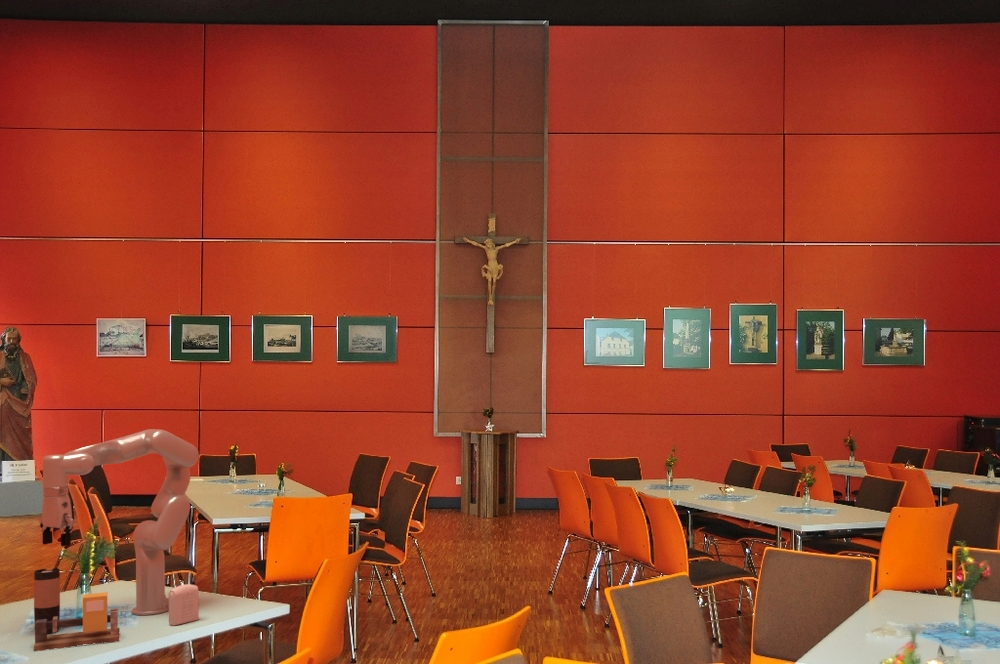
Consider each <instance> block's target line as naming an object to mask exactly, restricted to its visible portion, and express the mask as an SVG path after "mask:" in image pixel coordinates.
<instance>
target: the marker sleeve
mask: <svg viewBox="0 0 1000 664" xmlns="http://www.w3.org/2000/svg"><path fill="white" fill-rule="evenodd" d="M107 615H108V592H107V591H106V592H96V593H86V594H85V593H84V594H83V596H82V618H83V626H82V632H83V633H84V632H93V631H103V630H107V629H108V627H109V625H108V624H109V623H107Z"/></svg>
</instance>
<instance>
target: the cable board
mask: <svg viewBox="0 0 1000 664" xmlns="http://www.w3.org/2000/svg"><path fill="white" fill-rule="evenodd" d="M118 610H119V609H118V607H117V608H110V614H107V623H108V624H110V628H107V630H103V631H93V632H84V633H83V631H76V632H75V631H74V632H69V633H59V634H56V633H55V632H57V630H58V628H59V629H64V628H73V627H80V626H82V627H83V617H76V618H66V619H60V620H58V616H56V617H53V621H47V619H41V620H36V622H35V621H34V645H33V652H38V651H37V650H40V651H46V650H45V649H49V650H55V649H54V648H58V649H65V648H64V647H67V648H72V647H71V646H75V647H78V646H77V645H83V644H93V643H102V642H103V643H102V644H105V643H104V642H110V643H116V642H115V641H119V642H120V633H119V632H120V627H119V626H118V623H119V621H118V620H119V617H118V613H119V612H118ZM47 629H53V633H54V634H49V635H47ZM57 633H58V632H57ZM93 645H94V644H93Z"/></svg>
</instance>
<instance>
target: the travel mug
mask: <svg viewBox="0 0 1000 664" xmlns="http://www.w3.org/2000/svg"><path fill="white" fill-rule="evenodd" d="M33 576H34V577H33V578H34V579H33V580H34V582H33V587H34V588H33V592H34V594H33V597H34V598H33V614H34V619H33V620H34V623H35V622H36V620H41V619H47V621H53V617H56V616H58V620H61V617H60V615H61V614H60V613H61V605H60V604H61V589H60V588H61V587H60V584H61V583H60V582H61V581H60V580H61V579H60V568H59V567H57V568H56V567H54V568H52V569H47V568H41V569H36V570H35V571H34V574H33ZM59 632H60V628H58V630H57V632H55V633H53V629H47V635H55V634H56V633H59Z"/></svg>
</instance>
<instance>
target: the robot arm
mask: <svg viewBox="0 0 1000 664" xmlns="http://www.w3.org/2000/svg"><path fill="white" fill-rule="evenodd" d="M150 454H158V455H160V456H162V460H163V463H164V466H165V469H166V473H165V474H166V475H165V478H164V481H163V483H162V485H161V487H160V488H159V491H158V493H157V494H156V495H155V498H154V500H153V502H152V504H151V508H150V509H151V510H150V511H151V513H152V515H153V516H154V517H155V518H157V520H151V519H150V520H149V519H148V520H143V521H141V522H140V523H139V524H138V525H137V526H135V529H134V531H133V537H132V538H133V539H132V540H133V545H134V546H133V547H134V552H135V590H136V591H135V593H136V594H135V597H136V599H135V604H136V605H135V607H133V608H131V614H132V615H135V616H136V615H137V616H150V615H151V616H152V615H158V614H163V613H166V612H169V597H167V595H166V581H165V580H166V579H165V578H166V577H165V576H166V575H165V574H166V572H165V571H166V569H165V568H166V566H165V565H166V563H165V552H164V551H166V550H168V549H169V548H171V547H172V546H173V545H174V543H175V542H176V540H178V539H177V538H178V537H179V535H180V533H181V531H182V529H183V527H184V525H185V523H186V521H187V519H188V517H189V515H190V511H191V503H190V501H189V499H188V498H187V497H186V496H185V494H186V492H187V489H188V487H189V486H190V481H191V471H190V468H192V467H193V466H195V465H196V464H197V462H198V461H199V458H200V455H199V454H200V453H199V450H198V448H197V447H196V446H195V445H193V444H192V443H190V442H188V441H187V440H185V439H182V438H180V437H178V436H177V435H175V434H173V433H172V432H169V431H167V430H165V429H157V428H156V429H155V428H150V429H145V430H142V431H141V430H140V431H138V432H134V433H132V434H128V435H125V436H121V437H118V438H114V439H111V440H110V439H109V440H107V441H104V442H99V443H95V444H92V445H87V446H83V447H80V448H76V449H73V450H70V451H68V452H66V453H64V454H49V455H45V456H44V457H43V458H42V498H43V499H42V506H41V507H42V508H41V516H40V517H38V521H39V526H40V528H41V529H40V530H41V533H42V544H43V545H48V544H53V531H52V529H54V528H55V529H59V530H60V532H61V534H60V546H61V547H66V546H71V544H72V541H71V536H72V535H71V533H72V530H73V529H74V524H75V520H74V519H73V513H72V511H73V510H72V503H71V499H70V495H69V476H84V475H87V474H89V473H91V472H92V471H93V470H94V467H97V466H103V465H115V464H117V465H118V464H122V463H125V462H129V461H131V460H135V459H137V458H141V457H143V456H147V455H150Z"/></svg>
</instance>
